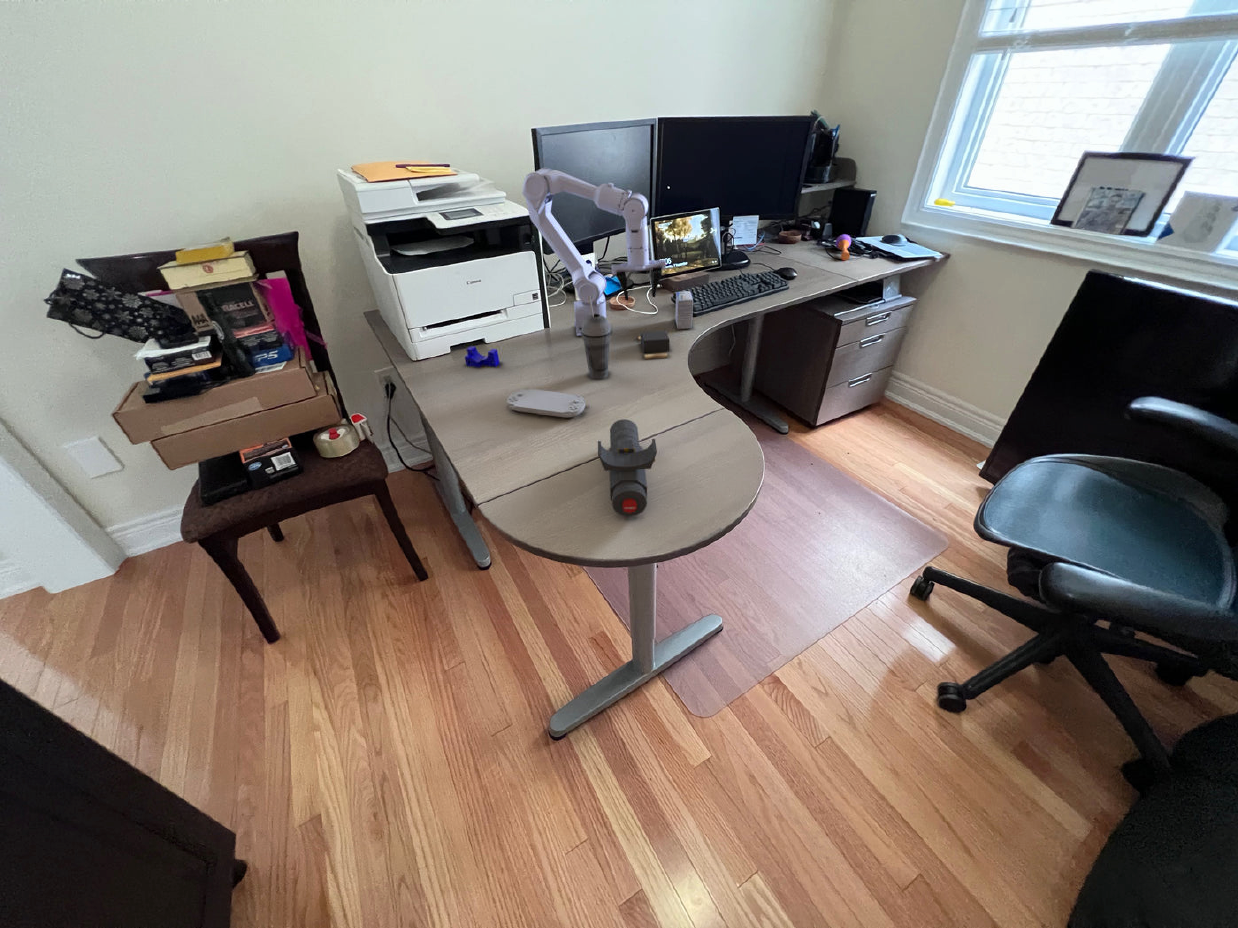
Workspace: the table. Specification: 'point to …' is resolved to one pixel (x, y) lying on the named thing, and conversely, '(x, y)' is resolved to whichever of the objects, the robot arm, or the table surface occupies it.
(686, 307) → the medicine box
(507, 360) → the table surface
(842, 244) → the kendama
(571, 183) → the robot arm
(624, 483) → the laser sight
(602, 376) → the beverage cup
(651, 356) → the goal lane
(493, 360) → the cable holder
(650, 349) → the black block
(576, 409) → the game console
